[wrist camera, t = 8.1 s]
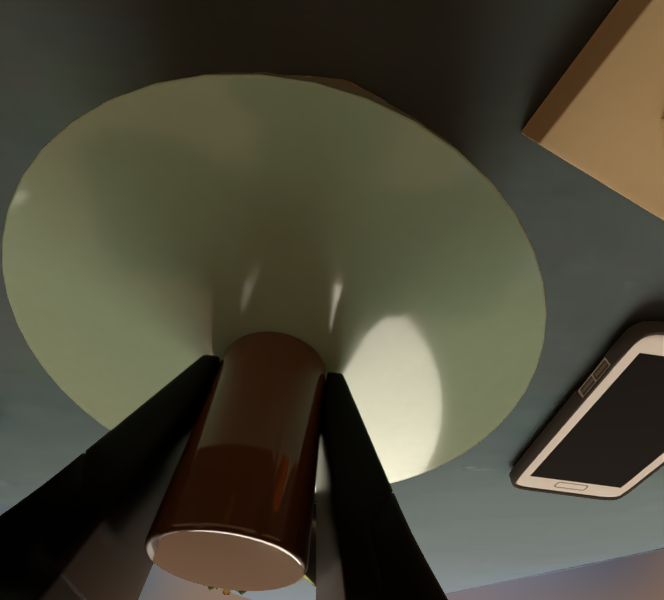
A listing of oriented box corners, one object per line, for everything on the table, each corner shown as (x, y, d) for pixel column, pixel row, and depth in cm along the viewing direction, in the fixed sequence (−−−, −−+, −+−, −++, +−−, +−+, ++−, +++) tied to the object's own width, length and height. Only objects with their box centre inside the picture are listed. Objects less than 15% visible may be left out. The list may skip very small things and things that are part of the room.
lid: (659, 255, 8) (1014, 513, 4) (370, 497, 16) (374, 679, 11) (25, -111, 5) (-1561, -816, 1) (39, 396, 13) (-132, 587, 8)
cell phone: (503, 474, 26) (507, 488, 25) (631, 314, 17) (645, 327, 16) (609, 488, 26) (617, 502, 25) (790, 336, 17) (811, 351, 16)
